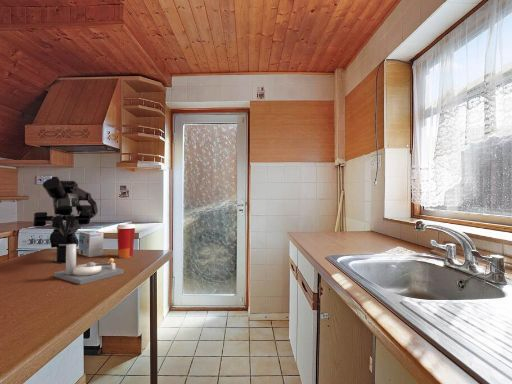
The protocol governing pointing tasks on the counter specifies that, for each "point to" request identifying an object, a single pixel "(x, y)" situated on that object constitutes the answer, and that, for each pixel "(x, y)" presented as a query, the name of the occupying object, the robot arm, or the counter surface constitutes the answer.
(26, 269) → the counter surface
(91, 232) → the light bulb box
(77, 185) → the robot arm
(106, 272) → the stand
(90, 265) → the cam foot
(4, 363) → the counter surface
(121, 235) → the coffee cup
